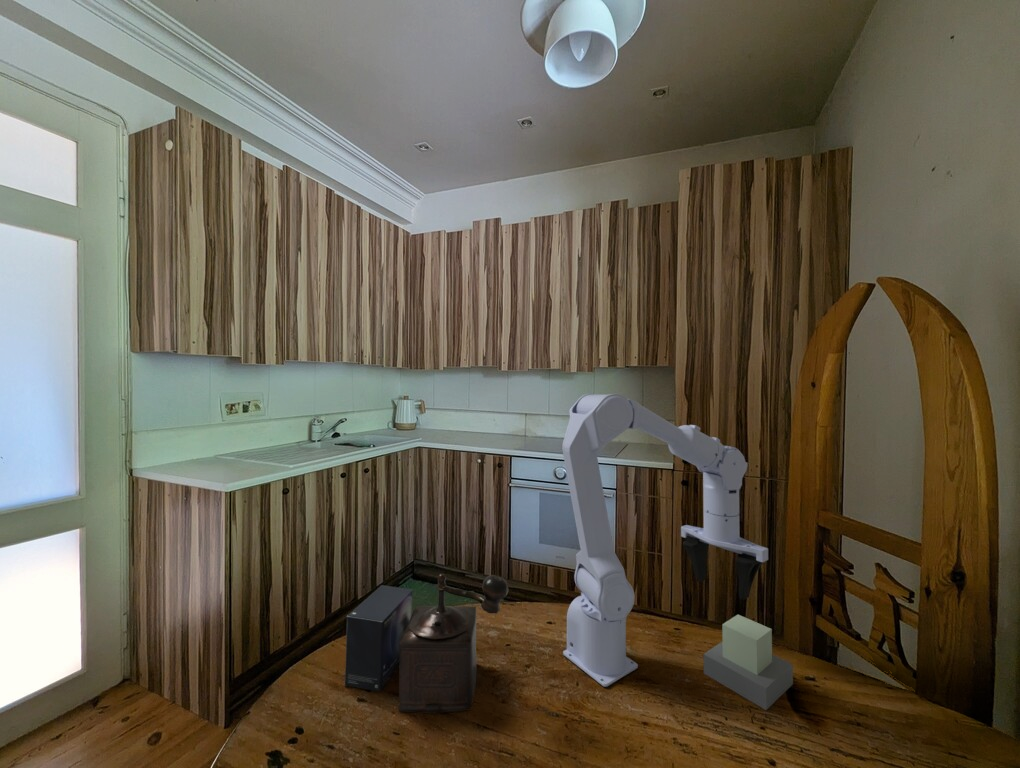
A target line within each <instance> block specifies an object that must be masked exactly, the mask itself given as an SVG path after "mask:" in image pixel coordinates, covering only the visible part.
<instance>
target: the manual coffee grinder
mask: <svg viewBox="0 0 1020 768" xmlns="http://www.w3.org/2000/svg"><path fill="white" fill-rule="evenodd" d="M446 579H447V576H446V574H444V573H439V575H438V576H437V585H436V589H437V591H438V601H437V602H438V603H437V605H416V607H415V608H414V610H413V611H412V616H411V618H410V620H409V623H408V625H407V627H406V629H405V631H404V633H403V636H402V638H401V640H400V644H399V650H400V655H399V666H398V671H399V672H398V675H399V678H398V683H399V684H398V685H399V686H398V695H399V696H398V697H399V698H398V702H399V703H398V712H406V713H407V712H409V713H410V712H411V713H421V714H440V713H459V712H463V711H469V710H471V709H472V706H473V702H474V701H473V700H474V699H475V691H476V683H477V675H478V670H477V669H478V668H477V666H478V665H477V639H476V638H477V606H461V605H460V606H458V605H457V606H456V605H455V606H453V605H452V606H451V605H445V595H446V594H445V592H446V593H447V594H450V595H454V596H458V597H463V598H468V599H470V600H471V599H472V600H475V601H477V602H479V603H480V606H481V609H482V610H483V611H484V612H486V613H487V614H498V612H500V611H501V606H500V602H501V601H502V600H503V599H504V598H505V597H507V595H508V593H509V586H508V582H507V580H505V579H504V578H503V577H502V576H499V575H497V574H491V575H488V576H486V577H485V579H484V580H483V581H482V586H481V590H482V592H483V594H484V595H482V594H479V593H476V592H472V591H470V590H464V589H461V588H456V587H452V586H449V585H447V583H446Z"/></svg>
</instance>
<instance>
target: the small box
mask: <svg viewBox="0 0 1020 768" xmlns="http://www.w3.org/2000/svg"><path fill="white" fill-rule="evenodd" d="M412 614H413V589H412V588H405V587H397V586H390V585H384V584H382V585H380V586H379V587H377V589H375V590H374V591H373V592H372V593H370V595H368V596H367V597H366V599H364V600H363V601H362V602H361V603H360V604H359V605H357V607H355V608H354V609H353V610H352V611H351V612H349V613H348V614H347V615H346V637H345V639H346V641H345V668H344V670H345V672H344V686H346V687H353V688H359V689H363V690H369V691H374V692H381V691H382V690H383V688H384V687H385V685H386V684H387V683H388V682H389V680H390V678H392V676H393V675H394V674H395V672H396V671H397V670H398V669H399V655H400V650H399V644H400V640H401V638H402V636H403V633H404V631H405V629H406V627H407V625H408V623H409V620H410V618H411V616H412ZM395 670H396V671H395Z"/></svg>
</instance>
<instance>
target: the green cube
mask: <svg viewBox="0 0 1020 768" xmlns="http://www.w3.org/2000/svg"><path fill="white" fill-rule="evenodd" d="M721 627H722V629H721V632H722V633H721V634H722V635H721V637H722V638H721V639H722V641H723V657H724V658H726V659H728V660H730V661H732V662H733V663H735V664H737V665H739V666H741V667H743V668H745V669H747V670H748V671H750V672H752V673H754V674H756V675H758V674H759V673H760V672H761V671H763V670H764V669H765V668H766V667H767V666H768V665H769V664H771V663H772V654H773V635H772V634H773V633H772V632H773V629H772V628H770V627H768V626H765V625H763V624H761V623H758V622H756V621H755V620H752V619H750V618H747V617H745V616H742V615H740V614H736V615H735V616H733V617H731V618H730V619H728V620H727V621H725V622H724V623H722V626H721ZM722 641H721V642H722Z"/></svg>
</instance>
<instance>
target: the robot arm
mask: <svg viewBox="0 0 1020 768" xmlns="http://www.w3.org/2000/svg"><path fill="white" fill-rule="evenodd" d="M568 411H569V420H568V424H567V428H566V431H565V435H564V437H563V441H562V445H561V446H562V447H561V449H562V456H563V459H564V460H563V461H564V465H565V466H564V467H565V471H566V476H567V483H568V489H569V493H570V498H571V500H570V501H571V505H572V510H573V515H574V522H575V526H576V531H577V538H578V543H579V548H580V550H579V551H578V552H577V553H576V554H575V559H576V560H575V561H576V568H575V571H574V576H573V577H574V582H575V586H576V587H577V589H578V590H579V591H580V595H578V596H577V597H575V598H574V599H573V600H572V601H571V603H570V604H569V606H568V609H567V613H566V649H564V650H563V651H562V655H563V656H564V657H566V658H567V659H568V660H569V661H570V662H572V663H573V664H574V665H576V666H577V667H578V668H579V669H580V670H582V671H584V673H586V674H587V675H588V676H589V677H591V678H592V679H593V680H595V681H596V682H597V683H598V684H600V685H601V686H602V687H604V688H605V687H606V688H607V687H609V686H610V685H612V684H613V683H615V682H617V681H618V680H621V678H623V677H625V676H627V675H628V674H630V673H632V672H633V671H636V670H637V669H638V667H639V664H638V663H637V662H635V661H634V660H632V659H631V658H629V657H627V651H626V650H627V642H626V641H627V640H626V639H627V635H626V634H627V629H626V627H627V625H626V624H627V623H626V622H627V620H626V619H627V618H628V615H629V614H630V612H631V611H632V609H633V607H634V604H635V591H634V589H633V586H632V585H631V583H630V582H629V581H628V579H627V576H626V572H625V569H624V566H623V565H622V563H621V561H620V560H619V558H618V556H617V554H616V552H615V549H614V542H613V538H612V531H611V527H610V521H609V520H610V519H609V516H608V510H607V505H606V504H607V503H606V499H605V493H604V488H603V483H602V476H601V469H600V466H599V461H598V455H599V454H600V452H602V450H603V449H604V448H605V446H606V445H608V444H609V443H610V442H612V441H613V440H615V439H616V438H618V437H619V436H620V435H622V434H623V433H624V432H626V431H627V430H628V429H630V430H631V429H632V430H635V429H636V430H639V431H641V432H642V433H645V434H647V435H649V436H651V437H654V438H655V439H658V440H660V441H662V442H664V443H666V444H667V446H668V450H669V452H670V453H671V454H672V455H674V456H676V457H677V458H679V459H682V460H683V461H686V462H687V463H688V464H691V465H694V466H695V467H696V468H697V470H698V471H699V473H702V475H703V476H702V478H703V479H702V486H703V487H702V488H703V489H702V492H703V495H702V496H703V498H702V499H703V500H702V501H703V503H702V504H703V506H702V507H703V511H702V513H703V527H700V526H699V527H698V526H693V525H690V524H689V525H688V524H686V525H682V526H681V527H680V537H681V538H685V540H684V541H683V542H682V546H683V549H684V550H685V552H686V553H687V556H688V558H689V560H690V562H691V564H692V565H691V566H692V568H693V572H694V577H695V581H696V582H699V583H701V582H703V581H705V580H706V579H707V558H708V550H709V545H711V546H714V547H718V548H721V549H723V550H727V551H730V552H733V553H736V554H739V555H741V556H738V557H736V558H734V562H735V566H736V572H737V579H738V597H739V598H738V599H740V600H741V601H742V600H743V601H745V600H746V599H748V598H749V597H750V593H751V589H752V585H753V582H754V580H755V577H756V576H757V573H758V571H759V570H760V568H761V566H762V565H763V563H765V562H767V561H769V548H768V547H765V546H762V545H759V544H756V543H754V542H752V541H750V540H747V539H745V538H743V537H741V536H740V489H741V488H742V486H743V478H744V475H745V474H746V473H747V469H748V464H749V463H748V462H746V459H745V456H744V455H743V453H742V452H741V450H739V449H738V448H737V447H735V446H729V445H723V444H722V442H721V440H720V439H719V438H718V437H714V436H712V437H711V436H709V435H708V434H705V433H703V432H701V427H700V426H698V425H695V424H689V425H688V424H684V425H680V426H677V425H675V424H673V423H672V422H669V421H668V420H666V419H665V418H663V417H662V416H660V415H658V414H657V413H655V412H653V411H652V410H650V409H648V408H646V407H645V406H643V405H641V404H640V403H639V402H638V401H636V400H634V399H631V398H627V397H626V396H624V394H623V395H622V394H621V393H609V394H597V393H596V394H595V393H585V394H583V395H581V396H580V397H579V398H578V399H577V400H576V402H575V403H573V405H572V406H571V407H570V409H569V410H568Z"/></svg>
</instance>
